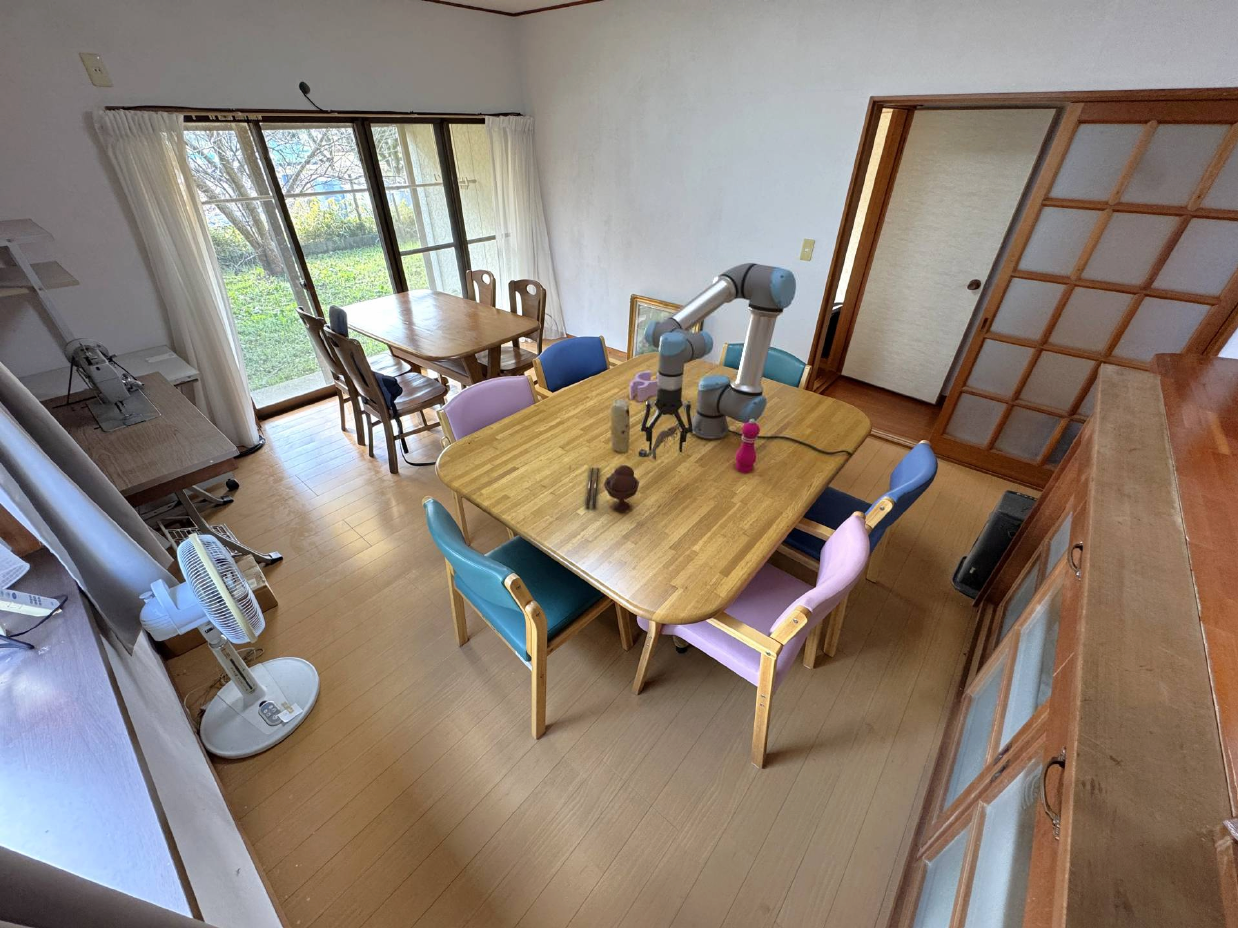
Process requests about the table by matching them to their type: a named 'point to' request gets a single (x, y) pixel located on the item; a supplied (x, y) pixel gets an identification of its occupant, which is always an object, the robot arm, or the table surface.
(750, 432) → the pepper mill
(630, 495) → the ice cream bowl
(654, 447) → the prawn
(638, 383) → the clip
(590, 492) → the chopsticks
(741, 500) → the table surface
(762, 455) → the table surface
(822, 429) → the table surface
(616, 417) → the food model
